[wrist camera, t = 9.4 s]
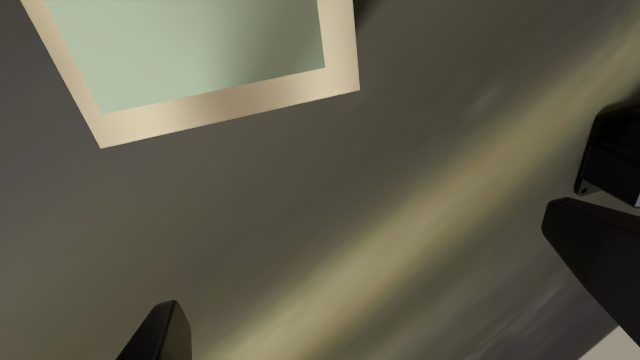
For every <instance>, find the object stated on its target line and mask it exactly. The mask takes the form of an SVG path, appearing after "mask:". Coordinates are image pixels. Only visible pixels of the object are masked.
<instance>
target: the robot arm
mask: <svg viewBox="0 0 640 360" xmlns="http://www.w3.org/2000/svg"><path fill="white" fill-rule="evenodd" d="M601 190H603V191H604V192H606V193H608V194H610V195H612V196H614V197H615V198H617V199H619V200H621V201H623V202H624V203H626V204H628V205H630V206H632V207H634V208H636V209H638V208H639V209H640V105H638V106H634V107H630V108H626V109H623V110H619V111H615V112H611V113H608V114H604V115H601V116H599V117H598V118H597V119H596V121H595V123H594V126H593V129H592V133H591V136H590V139H589V142H588V146H587V149H586V152H585V155H584V159H583V162H582V165H581V169H580V172H579V175H578V178H577V182H576V185H575V188H574V193H575V194H577V195H579V196H584V195H588V194H591V193H594V192H598V191H601ZM541 230H542V233H543V235H544V237H545V238H546V239H547V240H548V242H549V243H550V244H551V246H552V247H553V248H554V249H555V251H556V252H557V253H558V255H559V256H560V257H561V258H562V260H563V261H564V262H565V264H566V265H567V266H568V267H569V269H570V270H571V271H572V273H573V274H574V275H575V276H576V278H577V279H578V280H579V281H580V283H581V284H582V285H583V286H584V288H585V289H586V290H587V291H588V292H589V293H590V294H591V295H592V296H593V298H594V299H595V300H596V301H597V302H598V303H599V304H600V305H601V306H602V307H603V308H604V309H605V310H606V312H607V313H608V314H609V315H610V316H611V317H612V318H613V319H614V320H615V321H616V322H617V323H618V324H619V325H620V327H621V328H622V329H623V330H624V331H625V332H626V333H627V334H628V335H629V336H630V337H631V338H632V339H633V341H634V342H636V344H637V345H638V346H639V347H640V216H636V215H633V214H629V213H625V212H622V211H618V210H614V209H610V208H607V207H603V206H599V205H596V204H592V203H588V202H585V201H581V200H577V199H574V198H570V197H562V198H559V199H555V200H551V201H550V202H549V203H548V204H547V207H546V210H545V214H544V217H543V221H542V225H541ZM116 360H192V343H191V329H190V325H189V322H188V320H187V318H186V316H185V314H184V312H183V310H182V308H181V306H180V304H179V303H178V302H177V301H176V300H171V301H168V302H164V303H160V304H157V305H156V306H155V307H154V308H153V309H152V310H151V311H150V313H149V314H148V316H147V317H146V318H145V320H144V321H143V323H142V324H141V325H140V327H139V328H138V329H137V331H136V332H135V334H134V335H133V336H132V338H131V339H130V340H129V342H128V343H127V345H126V346H125V347H124V349H123V350H122V351H121V353H120V354H119V356H118V357H117V358H116Z"/></svg>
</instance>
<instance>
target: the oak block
mask: <svg viewBox="0 0 640 360" xmlns="http://www.w3.org/2000/svg"><path fill="white" fill-rule="evenodd" d="M21 2H22V4H23V6H24V7H25V9H26V11H27V13H28V15H29V17H30V18H31V20H32V22H33V24H34V26H35V28H36V30H37V31H38V33H39V35H40V37H41V39H42V41H43V43H44V44H45V46H46V48H47V50H48V52H49V54H50V56H51V57H52V59H53V61H54V63H55V65H56V67H57V68H58V70H59V72H60V74H61V76H62V78H63V80H64V81H65V83H66V85H67V87H68V89H69V91H70V93H71V94H72V96H73V98H74V100H75V102H76V104H77V105H78V107H79V109H80V111H81V113H82V115H83V117H84V118H85V120H86V122H87V124H88V126H89V128H90V130H91V131H92V133H93V135H94V137H95V139H96V141H97V142H98V144H99V146H100V148H105V147H110V146H114V145H119V144H123V143H128V142H132V141H136V140H141V139H145V138H150V137H154V136H159V135H163V134H167V133H172V132H176V131H181V130H185V129H189V128H194V127H198V126H203V125H207V124H212V123H216V122H220V121H225V120H229V119H234V118H238V117H243V116H247V115H251V114H256V113H260V112H265V111H269V110H274V109H278V108H282V107H287V106H291V105H296V104H300V103H305V102H309V101H313V100H318V99H322V98H327V97H331V96H335V95H340V94H344V93H349V92H353V91H358V90H360V86H359V74H358V61H357V49H356V37H355V24H354V12H353V0H317V5H318V13H319V21H320V29H321V37H322V44H323V52H324V60H325V68H321V69H316V70H312V71H307V72H302V73H297V74H293V75H288V76H283V77H278V78H274V79H269V80H264V81H259V82H255V83H250V84H245V85H240V86H236V87H231V88H226V89H221V90H217V91H212V92H207V93H202V94H198V95H193V96H188V97H183V98H179V99H174V100H169V101H164V102H160V103H155V104H150V105H145V106H141V107H136V108H131V109H126V110H122V111H117V112H112V113H107V114H103V115H102V113H101V111H100V109H99V107H98V105H97V103H96V101H95V99H94V97H93V95H92V93H91V92H90V90H89V88H88V86H87V84H86V82H85V80H84V78H83V76H82V74H81V72H80V70H79V68H78V66H77V64H76V62H75V60H74V58H73V56H72V54H71V52H70V50H69V48H68V46H67V44H66V42H65V40H64V38H63V36H62V34H61V32H60V30H59V28H58V26H57V24H56V22H55V20H54V18H53V16H52V14H51V12H50V10H49V8H48V6H47V4H46V2H45V0H21Z"/></svg>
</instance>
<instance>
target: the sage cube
mask: <svg viewBox="0 0 640 360" xmlns="http://www.w3.org/2000/svg"><path fill="white" fill-rule="evenodd" d="M45 2H46V4H47V6H48V8H49V10H50V12H51V14H52V16H53V18H54V20H55V22H56V24H57V26H58V28H59V30H60V32H61V34H62V36H63V38H64V40H65V42H66V44H67V46H68V48H69V50H70V52H71V54H72V56H73V58H74V60H75V62H76V64H77V66H78V68H79V70H80V72H81V74H82V76H83V78H84V80H85V82H86V84H87V86H88V88H89V90H90V92H91V93H92V95H93V97H94V99H95V101H96V103H97V105H98V107H99V109H100V111H101V113H102V115H103V114H107V113H112V112H117V111H122V110H126V109H131V108H136V107H141V106H145V105H150V104H155V103H160V102H164V101H169V100H174V99H179V98H183V97H188V96H193V95H198V94H202V93H207V92H212V91H217V90H221V89H226V88H231V87H236V86H240V85H245V84H250V83H255V82H259V81H264V80H269V79H274V78H278V77H283V76H288V75H293V74H297V73H302V72H307V71H312V70H316V69H321V68H325V60H324V52H323V44H322V37H321V29H320V21H319V13H318V5H317V0H45Z"/></svg>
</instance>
